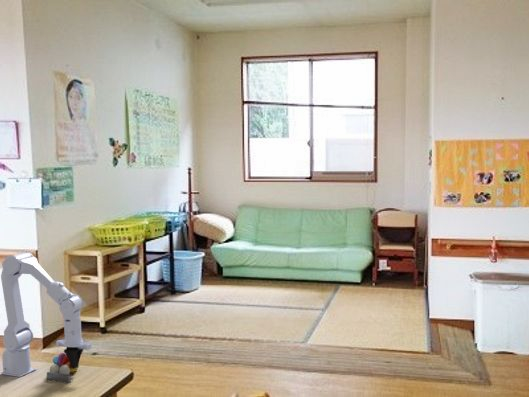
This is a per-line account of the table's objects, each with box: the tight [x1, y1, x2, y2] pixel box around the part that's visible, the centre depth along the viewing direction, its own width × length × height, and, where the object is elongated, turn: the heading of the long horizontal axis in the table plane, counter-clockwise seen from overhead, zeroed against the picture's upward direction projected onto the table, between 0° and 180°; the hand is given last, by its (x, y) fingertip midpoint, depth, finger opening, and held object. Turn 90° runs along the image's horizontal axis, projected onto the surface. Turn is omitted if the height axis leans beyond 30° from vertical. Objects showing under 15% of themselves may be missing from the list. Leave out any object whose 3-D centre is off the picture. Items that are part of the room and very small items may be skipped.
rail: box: [46, 371, 71, 384], centre depth 200 cm, size 10×1×2 cm, turn 66°
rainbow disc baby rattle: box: [49, 352, 80, 375], centre depth 207 cm, size 8×10×7 cm
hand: (74, 367), depth 205 cm, fingers closed
